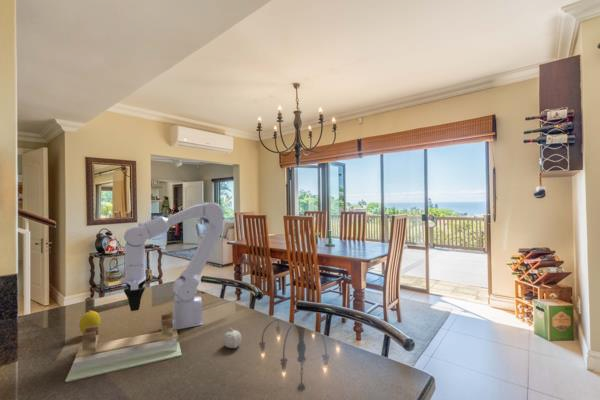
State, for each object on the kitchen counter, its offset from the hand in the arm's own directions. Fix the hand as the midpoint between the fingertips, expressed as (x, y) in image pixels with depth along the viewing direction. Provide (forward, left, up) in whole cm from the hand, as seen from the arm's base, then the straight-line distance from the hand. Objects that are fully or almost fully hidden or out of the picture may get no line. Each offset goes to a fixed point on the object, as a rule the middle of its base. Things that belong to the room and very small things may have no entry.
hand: (135, 306), depth 95 cm
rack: (+1, +6, -9) cm, 11 cm away
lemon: (+13, -7, -10) cm, 18 cm away
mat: (+1, +16, -9) cm, 19 cm away
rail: (+1, +16, -9) cm, 18 cm away
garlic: (-26, +21, -10) cm, 35 cm away
